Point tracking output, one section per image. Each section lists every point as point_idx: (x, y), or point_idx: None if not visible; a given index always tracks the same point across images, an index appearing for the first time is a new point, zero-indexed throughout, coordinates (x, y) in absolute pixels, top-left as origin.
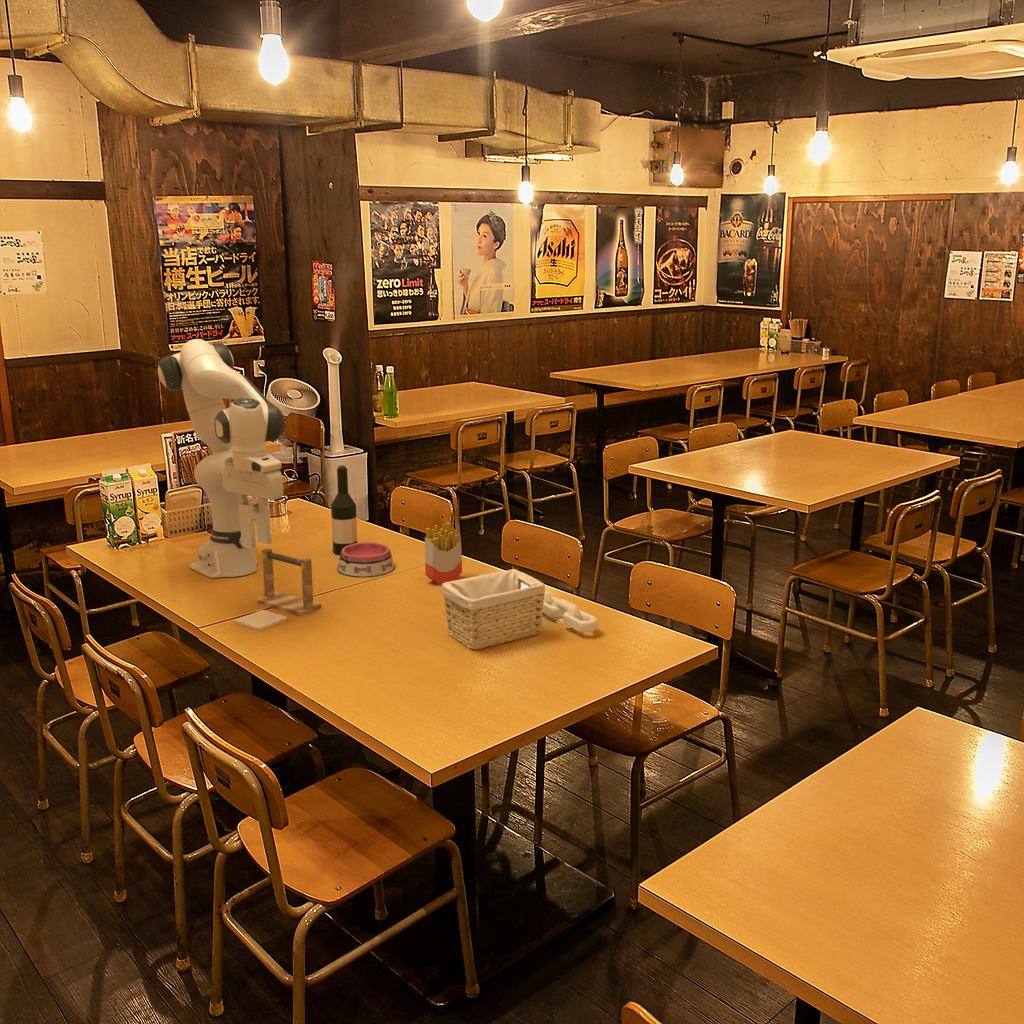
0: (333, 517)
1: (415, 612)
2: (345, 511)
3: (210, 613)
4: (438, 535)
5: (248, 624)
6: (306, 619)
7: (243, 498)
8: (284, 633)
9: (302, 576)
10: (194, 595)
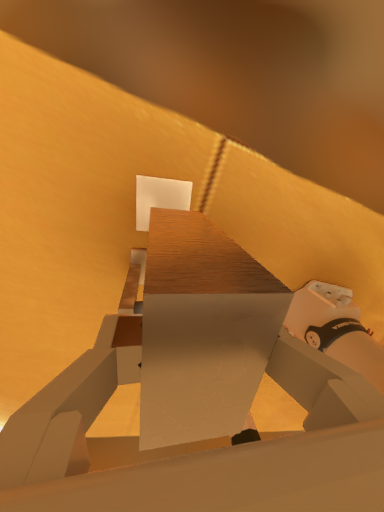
0: (251, 430)
1: (18, 330)
2: None
3: (245, 193)
4: None
5: (162, 178)
6: (115, 243)
7: (317, 381)
8: (97, 186)
9: (134, 289)
10: (301, 231)
